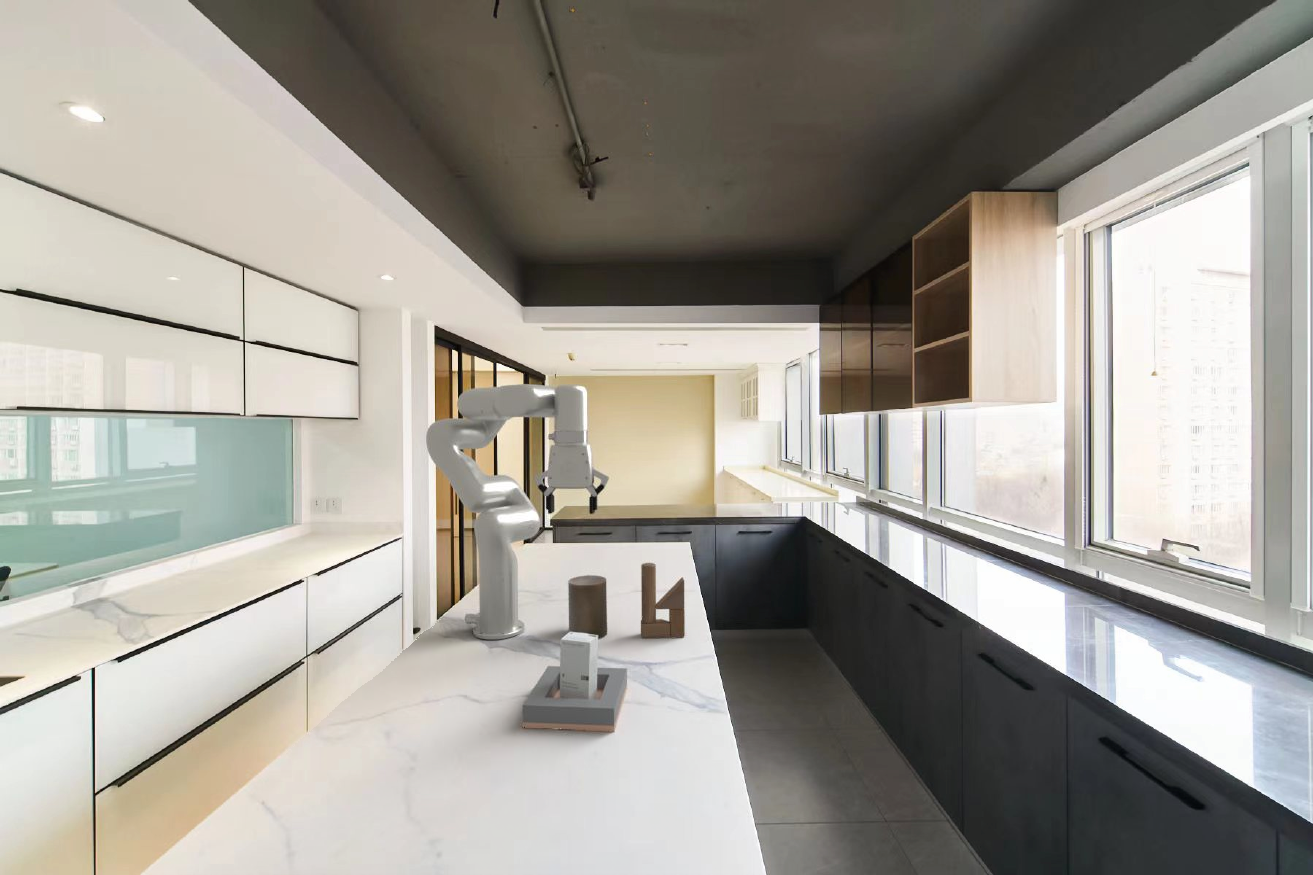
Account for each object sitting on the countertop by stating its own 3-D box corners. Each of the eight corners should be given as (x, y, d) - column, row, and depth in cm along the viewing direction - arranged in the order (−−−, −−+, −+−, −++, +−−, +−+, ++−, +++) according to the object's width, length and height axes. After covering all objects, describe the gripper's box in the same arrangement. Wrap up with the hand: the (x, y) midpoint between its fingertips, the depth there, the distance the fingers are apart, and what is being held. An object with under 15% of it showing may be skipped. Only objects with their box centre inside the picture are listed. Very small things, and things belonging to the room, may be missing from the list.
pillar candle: (614, 635, 140) (613, 575, 140) (579, 643, 135) (578, 581, 135) (595, 624, 148) (595, 568, 148) (561, 632, 143) (561, 573, 143)
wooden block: (684, 637, 139) (684, 565, 138) (641, 638, 138) (640, 566, 138) (683, 632, 142) (682, 561, 142) (640, 633, 142) (640, 562, 141)
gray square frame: (522, 727, 97) (522, 704, 97) (548, 685, 113) (548, 665, 113) (614, 731, 96) (614, 708, 96) (627, 688, 112) (626, 668, 112)
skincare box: (558, 704, 103) (558, 639, 103) (569, 693, 107) (568, 630, 107) (589, 709, 101) (589, 642, 101) (599, 697, 106) (598, 633, 105)
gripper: (529, 439, 126) (530, 515, 126) (605, 439, 125) (606, 515, 125) (539, 438, 133) (539, 510, 134) (611, 438, 132) (611, 511, 132)
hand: (571, 513), depth 129 cm, fingers open, 9 cm apart
